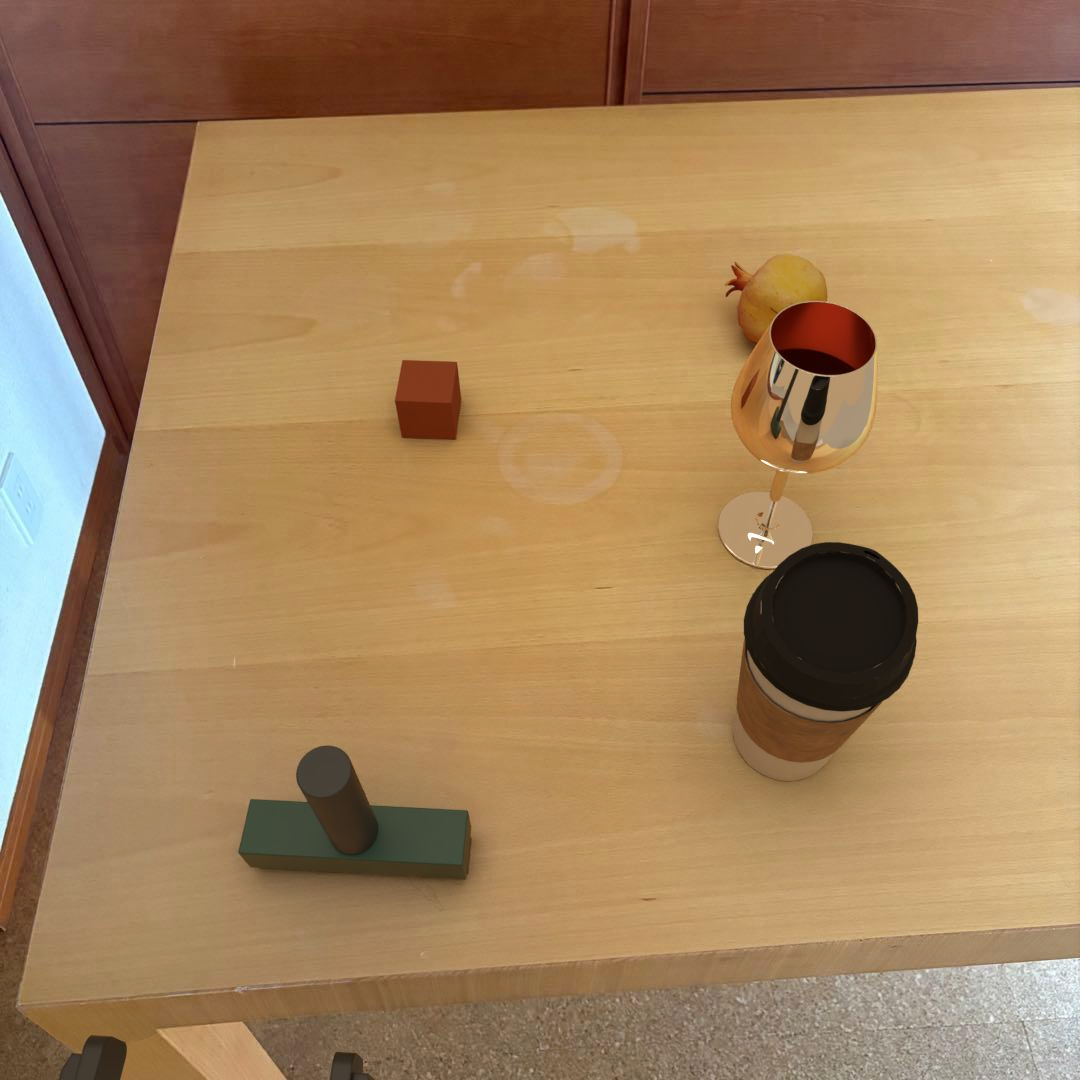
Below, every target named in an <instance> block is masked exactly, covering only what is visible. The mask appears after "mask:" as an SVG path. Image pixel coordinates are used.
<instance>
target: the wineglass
mask: <svg viewBox="0 0 1080 1080" xmlns="http://www.w3.org/2000/svg"><path fill="white" fill-rule="evenodd" d="M878 363H879V362H878V339H877V335H876V332H875V330H874V328H873V327H872V325H871V323H869V321H868V320H867V319H865V318H864V317H863V316H862V314H861V315H860V314H859V313H858V312H857V311H855V310H854V309H851V308H849V307H847V306H845V305H842V304H839V303H835V302H831V301H827V302H826V301H805V302H800V303H796V304H793V305H791V306H788V307H786V308H785V309H783V310H782V311H780V312H779V313H778V314H777V315H776V316H775V318H774V319H773V320H772V322H771V323H770V325H769V327H768V328H767V330H766V331H765V333H764V334H763V336H762V337H761V339H760V340H759V342H758V343H756V345H755V346H754V348H753V350H752V351H751V353H750V354H749V356H748V358H747V359H746V361H745V362H744V365H743V366H742V368H741V369H740V372H739V374H738V376H737V379H736V381H735V382H734V383H735V384H734V386H733V389H732V393H731V397H730V398H731V399H730V414H731V415H730V416H731V421H732V425H733V428H734V431H735V433H736V435H737V436H738V439H739V440H740V442H741V443H742V445H743V446H744V447H745V448H746V450H747V451H748V452H749V453H750V454H751V455H752V456H753V457H754V458H756V460H758V461H759V462H761V463H762V464H763V465H766V466H768V467H769V468H771V469H773V470H775V473H774V476H773V481H772V484H771V489H770V491H761V490H760V491H759V490H758V491H750V492H746V493H742V494H740V495H737V496H736V497H734V498H732V499H731V500H730V501H728V503H726V505H725V506H724V507H723V508H722V510H721V512H720V514H719V518H718V522H717V531H718V536H719V538H720V541H721V543H722V545H723V547H725V549H726V550H727V552H728V553H729V554H731V556H733V557H734V558H735V559H737V560H738V561H740V562H741V563H743V564H746V565H747V566H750V567H753V568H756V569H757V568H758V569H764V570H775V569H776V567H777V566H778V565H779V564H780V563H781V562H782V561H784V560H785V559H786V558H787V557H788V556H790V555H791V554H793V553H795V552H796V551H798V550H800V549H801V548H804V547H807V546H810V545H812V541H813V535H814V533H813V526H812V523H811V520H810V518H809V516H808V515H807V513H806V512H805V510H804V509H803V508H801V507H800V506H799V505H798V504H797V503H796V502H794V501H793V500H792V499H790V498H788V497H787V496H784V495H783V494H784V490H785V486H786V483H787V480H788V477H789V474H794V475H811V474H817V473H822V472H825V471H829V470H831V469H834V468H836V467H838V466H840V465H841V464H843V463H845V462H847V461H848V460H849V459H850V458H852V457H853V456H854V455H856V454H857V452H858V451H860V449H861V448H862V447H863V446H864V444H865V443H866V441H867V439H868V437H869V436H870V433H871V431H872V430H873V429H872V428H873V426H874V423H875V419H876V413H877V406H878V405H877V404H878V386H879V385H878V379H879V374H878V373H879V372H878V370H879V369H878V367H879V366H878Z"/></svg>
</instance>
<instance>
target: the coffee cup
mask: <svg viewBox="0 0 1080 1080" xmlns="http://www.w3.org/2000/svg"><path fill="white" fill-rule="evenodd" d="M918 626H919V605H918V602H917V597H916V595H915V592H914V590H913V588H912V587H911V584H910V583H909V581H908V580H907V578H906V577H905V575H903V573H902V572H901V571H900V570H899V569H898V568H897V567H896V566H895V565H894V564H893V563H892V562H891V561H889V559H887V558H886V557H885V556H884V555H882V553H880V552H879V551H877V550H875V549H872V548H869V547H866V546H862V545H859V544H853V543H848V542H847V543H846V542H839V541H824V542H818V543H817V542H816V543H811V545H810V546H807V547H804V548H801V549H800V550H798V551H796V552H795V553H793V554H791V555H790V556H788V557H787V558H786V559H785V560H784V561H782V562H781V563H780V564H779V565H778V566H777V567H776V569H773V571H772V572H771V573H769V574H768V575H767V576H766V577H765V578H763V580H762V581H761V582H760V583H759V585H758V586H757V587H756V588H755V590H754V592H753V593H752V595H751V596H750V598H749V601H748V603H747V605H746V607H745V612H744V617H743V637H744V638H743V642H742V644H743V645H742V652H741V660H740V669H739V677H738V685H737V693H736V704H735V711H734V715H733V723H732V735H733V740H734V744H735V747H736V748H737V751H738V752H739V754H740V756H741V757H742V758H743V760H744V761H745V763H747V764H748V765H749V766H750V767H751V768H752V769H753V770H754V771H756V772H757V773H758V774H761V775H763V776H765V777H767V778H770V779H773V780H777V781H782V782H783V781H784V782H795V781H801V780H804V779H808V778H810V777H811V776H813V775H815V774H816V773H817V772H819V771H820V770H821V769H822V768H823V767H824V766H825V765H826V764H827V763H828V762H829V761H830V759H831V758H832V757H833V756H834V754H835V753H836V752H837V751H838V750H839V749H840V748H841V747H842V746H844V744H845V743H846V742H847V741H848V740H849V739H850V738H851V737H852V736H853V734H855V733H856V732H857V730H858V729H859V728H860V727H861V726H862V725H863V724H864V723H865V722H866V721H867V720H868V718H870V716H871V715H872V714H873V713H874V712H875V711H876V710H877V709H878V708H879V707H880V706H881V705H882V703H883V702H884V701H886V700H888V699H890V697H892V696H893V695H894V694H895V693H896V692H898V691H899V690H900V688H901V687H902V686H903V684H904V683H905V682H906V680H907V679H908V677H909V676H910V672H911V669H912V667H913V664H914V660H915V658H916V652H917V651H916V649H917V644H918V643H917V642H918V639H917V634H918Z"/></svg>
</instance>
